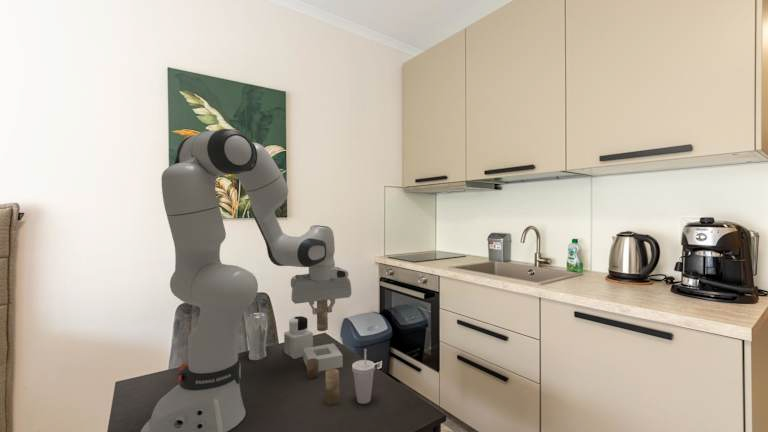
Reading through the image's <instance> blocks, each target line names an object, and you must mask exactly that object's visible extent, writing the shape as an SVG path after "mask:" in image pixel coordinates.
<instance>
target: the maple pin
mask: <svg viewBox="0 0 768 432" xmlns="http://www.w3.org/2000/svg"><path fill="white" fill-rule="evenodd" d="M328 304H329V303H328V300H321V301H316V308H317V309H318V311H317V312H318V314H316V330H317V331H318V332H325V331H327V330H328V329H329V326H328V323H329V322H328V314H329V313H328Z"/></svg>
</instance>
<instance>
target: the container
mask: <svg viewBox="0 0 768 432" xmlns="http://www.w3.org/2000/svg"><path fill="white" fill-rule="evenodd" d="M288 323H289V324H288V331H285V332H283V333H284V335H283V336H284V341H283V344H284V345H283V347H284V348H283V349H284V353H285V354H286V355H287V356H289V357H290V358H292V359H294V360H296V359H299V358H303V348H309V347H314V334H313V332H312V331H310V330H308V323H309V322H308V318H307V317H305V316H302V315H301V316H300V315H299V316H293V317H291V318H290V319H289V321H288Z"/></svg>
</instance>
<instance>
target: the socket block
mask: <svg viewBox="0 0 768 432" xmlns="http://www.w3.org/2000/svg"><path fill="white" fill-rule="evenodd" d="M343 355H344V354H342V352H341V351H340V350H339V348H338V347H337V346H336V344H335V343H328V344H327V343H326V344H322V345H315V346H313V347H309V348H303V356H302V358H303V359H302V360H303V362H304V364H305V366H306V368H307V360H309V359H313V358H315V359H318V360H319V373H320V372H323V371H325V372H326V371H327V370H330V369H339V368H343V367H344V365H343V362H344V361H343V359H344V358H343Z"/></svg>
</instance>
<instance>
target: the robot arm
mask: <svg viewBox="0 0 768 432" xmlns="http://www.w3.org/2000/svg"><path fill="white" fill-rule="evenodd" d="M230 175H233V176H234V177H236V178H237V180H238V181H239V183H240V185H241V186H242V188H243V191H244V192H245V193H246V195H247V198H248V200H249V202H250V210H251V214H252V217H253V219H254V220H255V223H256V225H257V227H258V229H259V231H260V234H261V236H262V237H263V240H264V242H265V246H266V250H267V255H268V258H269V260H270V262H271V263H272V264H274V265H276V266H278V267H295V268H297V267H298V268H308V273H304V274H296V275H294V276H292V277H291V278H290V286H291V288H292V289H291V296H290V297H291V301H292V302H293V303H294V304H297V305H298V304H306V303H308V304H309V306H310V308H311V310H312V311H311V312H312V315H314V316H315V315H317V314H318V312H317V311H318V309H317V307H314V305H315V302H317V301H321V300H327V301H329V302H330V303H329V306H328V314H329V313H332V312H333V307H334V306H335V304H336V300H337V299H346V298H350V297H351V296H352V284H351V280H350V278H349V271H347V270H346V269H344V268H341V267H338V266H335V265H336V264H335V263H336V262H335V259H334V258H335V257H334V255H335V252H336V251H335V249H336V248H335V235H334V232H333V229H332V228H331V227H329V226H325V225H311V226H310V227H309V230H307V231H306V233H304V234H302V235H301V236H290V235H288V234H286V233H285V232H284V231H283V230H282V227H281V226H280V223H279V220H278V218H277V216H276V210H277V209H279V208H280V207H281V206H282V205H283V204H284V203H285V202H286V200H287V198H288V195H289V189H288V184H287V182H286V180H285V178H284V175H283V174H282V172H281V170H280V168H279V166H278V165H277V163H276V162H275V160H274V159H273V157H272V156H271V155H270V153H269V152H268V150H267V149H266V148H265V147H264V146H263V145H262V144H260V143H259V142H258V143H257V142H252V141H251V139H250V138H249V137H248V136H246V134H244V133H243V132H241V131H239V130H237V129H233V128H219V129H218V130H217V129H216V130H206V131H205V130H204V131H202V132H199V133H196V134H192V135H189V136H188V137H186V138H184V139H183V140H182V141H181V142H180V143H179V145H178V147H177V150H176V157H175V161H174V164H172V165H169V167H167V168H166V169H164V170H163V172H162V174H161V191H162V192H161V193H162V194H161V195H162V201H163V205H164V210H165V214H166V218H167V221H168V224H169V229H170V232H171V233H170V234H171V238H172V240H173V245H174V253H175V255H174V256H175V266H174V267H175V268H174V272H173V274H172V276H171V278H170V281H169V287H170V291H171V293H172V294H173V296H174V297H175V298H177V299H179V300H180V301H181V302H183V303H184V304H187V305H190V306H196V307H198V308H199V317H198V321H197V324H196V327H195V328H193V329H192V331H190V333H189V335H188V338H187V351H188V353H187V354H188V355H187V357H188V358H187V363H186V362H183V363H182V364H180V365H179V367H178V378H177V379H178V384H177V385H176V386H174V387H173V388H172V389H171V390H169V391H168V392H167V393H166V394H165V395H163V396H162V397H161V398H160V399H159V400H158V402H157V403H156V404H155V407H154V409H153V411H152V414H151V416H150V419H149V420H148V421H147V422H146V423H144V425H143V427H142V428H141V430H140V432H229V431H230V430H232V429H234V428H235V427H237V426H238V425H239V424H241V422H243V420H244V418H245V417H246V409H245V406H244V402H243V398H242V393H241V386H240V382H241V379H242V378H241V371H242V370H241V369H242V367H241V359H240V357H239V331H240V330H239V329H240V325H241V322H242V318H243V315H244V313H245V311H246V310H247V309H248V308H249V307H250V306H251V305H252V304H253V302H254V301H255V300H256V297H257V295H258V290H259V284H258V279H257V277H256V276H255V275H254V273H253V272H251V271H249V270H247V269H245V268H242V267H241V266H239V265H232V264H224V263H222V261H221V259H220V258H221V257H220V256H221V255H220V253H221V247H222V246H221V245H222V244H223V242H224V241H225V239H226V236H227V235H226V234H227V233H226V229H225V225H224V224H225V223H224V221H223V216H222V211H221V207H220V204H219V201H218V196H217V193H216V184H217V183H216V182H217V179H218V177H224V176H230Z"/></svg>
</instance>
